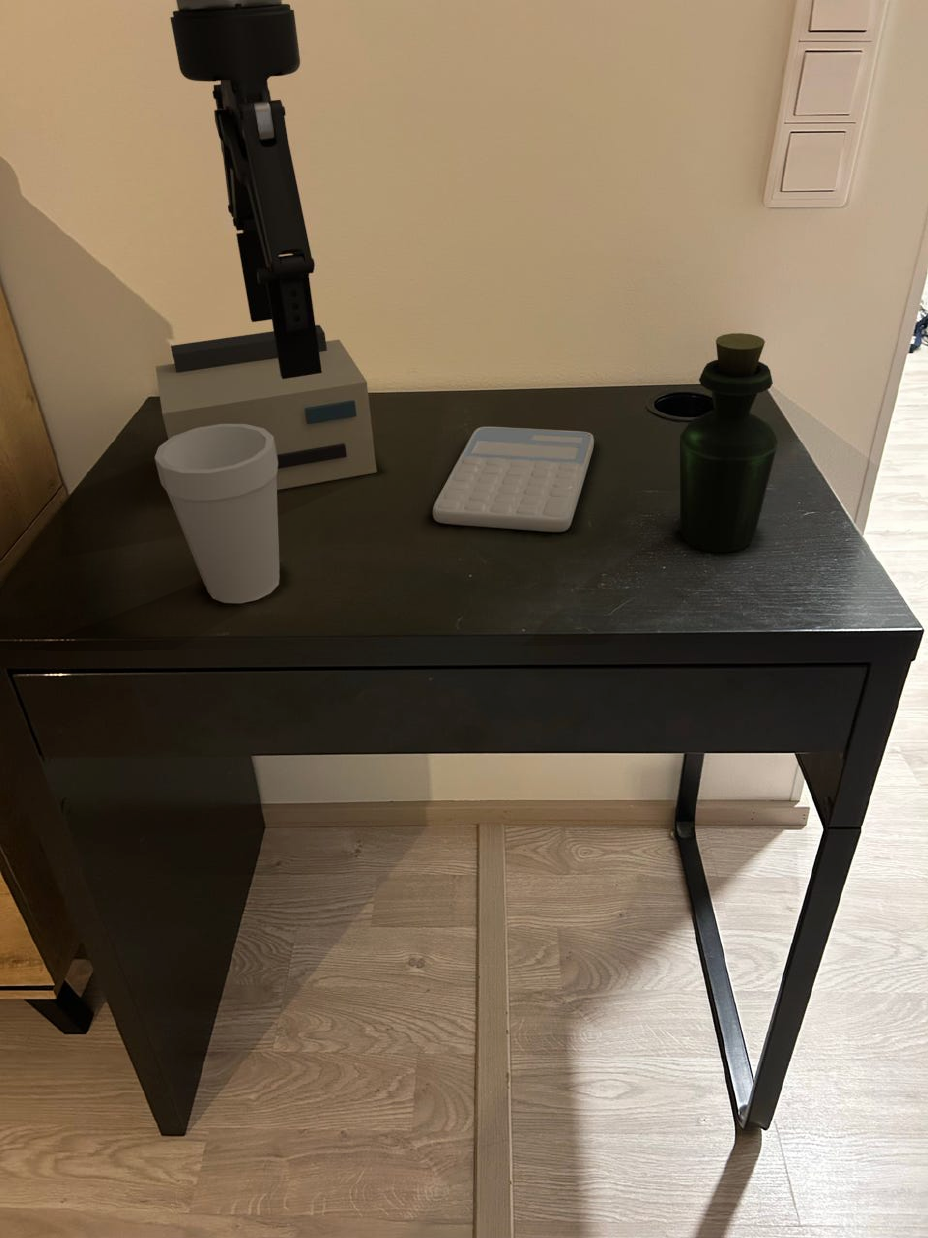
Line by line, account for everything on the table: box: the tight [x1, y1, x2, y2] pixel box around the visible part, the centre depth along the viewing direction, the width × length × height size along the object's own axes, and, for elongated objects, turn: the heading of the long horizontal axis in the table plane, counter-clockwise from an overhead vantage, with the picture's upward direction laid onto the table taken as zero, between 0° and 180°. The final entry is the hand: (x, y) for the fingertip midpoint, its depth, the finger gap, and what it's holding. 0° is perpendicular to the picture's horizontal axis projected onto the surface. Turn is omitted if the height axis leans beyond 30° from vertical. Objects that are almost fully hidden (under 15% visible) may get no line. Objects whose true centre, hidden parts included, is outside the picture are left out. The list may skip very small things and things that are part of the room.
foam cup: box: [154, 424, 281, 604], centre depth 80 cm, size 10×9×13 cm
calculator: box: [432, 426, 595, 533], centre depth 97 cm, size 13×20×2 cm, turn 167°
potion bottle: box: [679, 332, 779, 554], centre depth 82 cm, size 8×8×18 cm
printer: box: [155, 324, 377, 491], centre depth 101 cm, size 20×14×12 cm
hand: (283, 344), depth 70 cm, fingers open, 13 cm apart
